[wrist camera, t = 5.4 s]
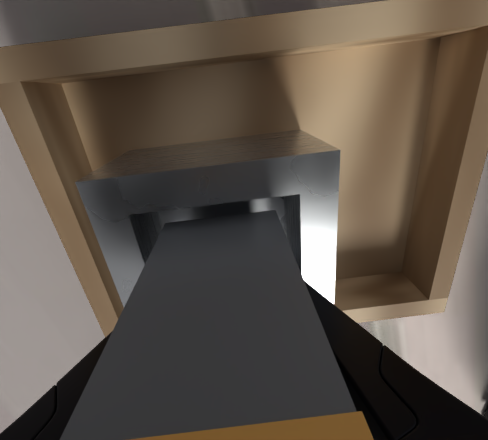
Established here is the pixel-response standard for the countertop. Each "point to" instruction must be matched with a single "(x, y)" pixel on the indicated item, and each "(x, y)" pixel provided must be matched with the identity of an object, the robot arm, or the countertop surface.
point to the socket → (218, 198)
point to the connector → (218, 346)
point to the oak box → (280, 127)
